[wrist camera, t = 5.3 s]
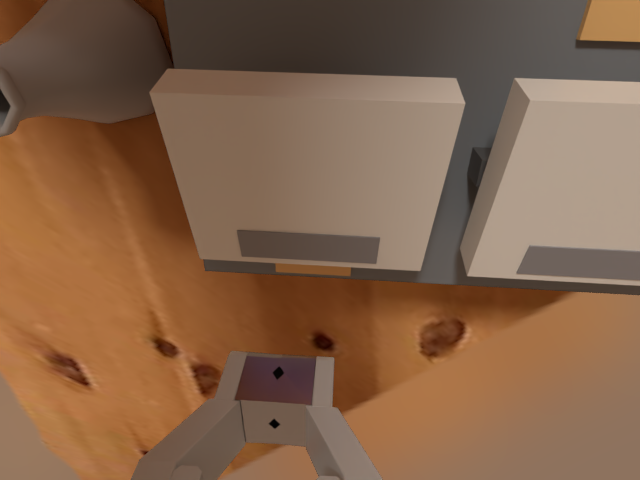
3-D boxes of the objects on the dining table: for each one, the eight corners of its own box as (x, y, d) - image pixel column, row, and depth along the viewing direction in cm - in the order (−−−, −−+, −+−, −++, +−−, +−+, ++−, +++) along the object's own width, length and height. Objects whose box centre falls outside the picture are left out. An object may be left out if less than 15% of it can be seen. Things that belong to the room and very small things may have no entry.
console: (206, -27, 21) (140, -34, 14) (705, -17, 20) (878, -18, 13) (232, 221, 28) (196, 291, 22) (596, 240, 27) (672, 319, 21)
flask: (200, 79, 24) (114, 132, 15) (112, 142, 26) (-5, 218, 17) (107, -53, 21) (-68, -80, 12) (17, 31, 23) (-182, 59, 14)
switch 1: (167, 68, 15) (148, 93, 13) (456, 78, 14) (465, 104, 13) (210, 231, 20) (199, 260, 19) (416, 242, 20) (420, 272, 19)
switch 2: (514, 77, 14) (531, 101, 13) (823, 88, 14) (875, 113, 12) (459, 248, 20) (467, 277, 18) (680, 259, 19) (705, 290, 18)
